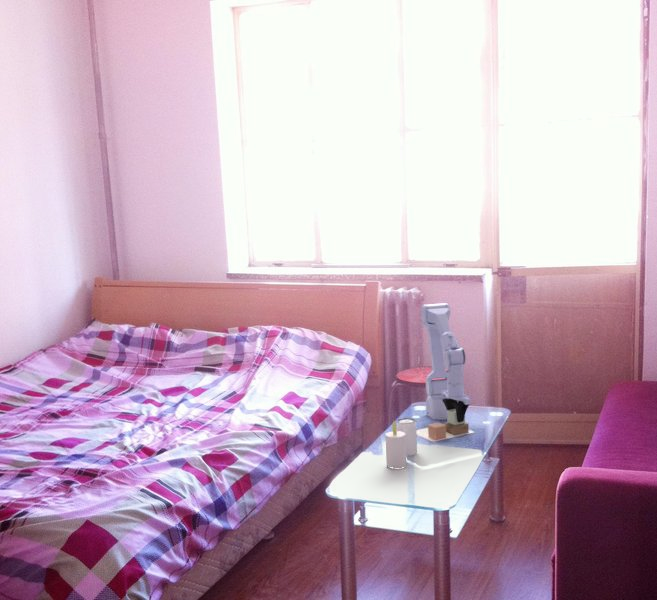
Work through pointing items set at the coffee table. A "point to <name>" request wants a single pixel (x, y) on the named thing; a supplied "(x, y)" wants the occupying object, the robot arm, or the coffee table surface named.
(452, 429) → the walnut block
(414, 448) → the can
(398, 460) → the candle
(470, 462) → the coffee table surface
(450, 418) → the sage block
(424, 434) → the cream board
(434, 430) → the terracotta block
